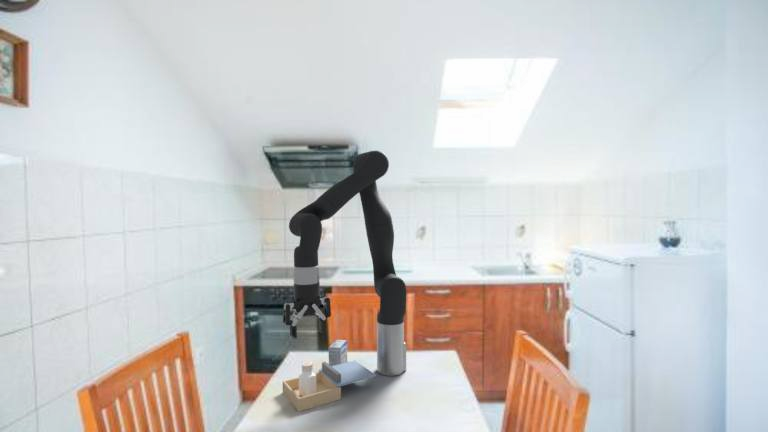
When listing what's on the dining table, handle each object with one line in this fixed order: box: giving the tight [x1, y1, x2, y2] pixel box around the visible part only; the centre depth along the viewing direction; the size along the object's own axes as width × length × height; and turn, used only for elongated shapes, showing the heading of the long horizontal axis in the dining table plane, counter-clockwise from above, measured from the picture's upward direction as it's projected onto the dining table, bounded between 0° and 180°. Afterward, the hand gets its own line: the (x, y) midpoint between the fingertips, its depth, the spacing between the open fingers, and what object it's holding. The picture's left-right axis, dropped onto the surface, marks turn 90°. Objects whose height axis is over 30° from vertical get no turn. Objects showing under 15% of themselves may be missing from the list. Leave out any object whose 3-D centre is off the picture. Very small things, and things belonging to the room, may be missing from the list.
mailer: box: [282, 371, 342, 412], centre depth 124 cm, size 13×13×4 cm
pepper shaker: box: [298, 361, 316, 397], centre depth 123 cm, size 4×4×10 cm
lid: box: [318, 360, 376, 387], centre depth 130 cm, size 13×13×3 cm
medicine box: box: [328, 339, 348, 366], centre depth 144 cm, size 8×4×9 cm, turn 168°
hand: (308, 334), depth 123 cm, fingers open, 8 cm apart
